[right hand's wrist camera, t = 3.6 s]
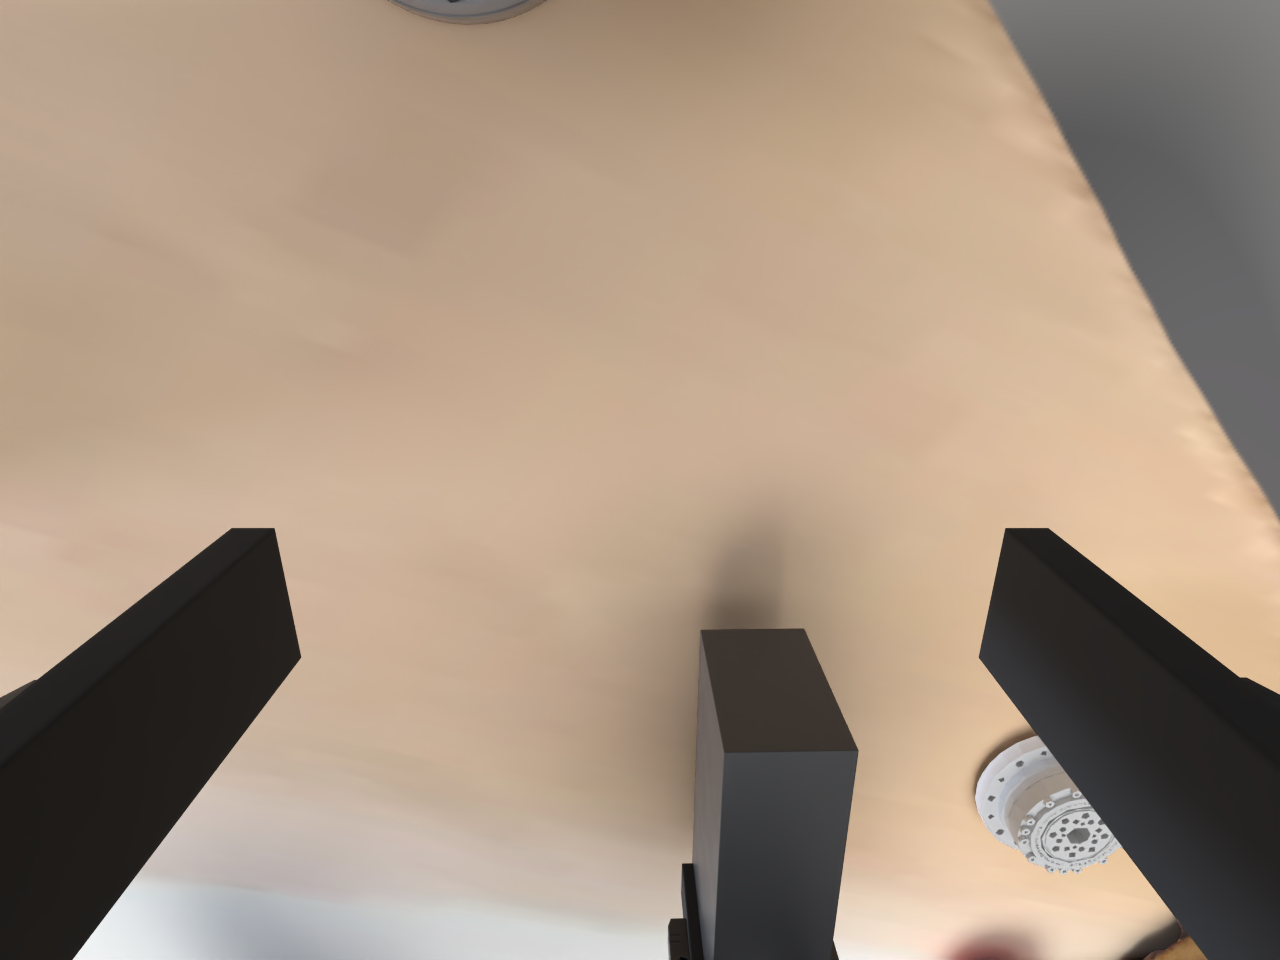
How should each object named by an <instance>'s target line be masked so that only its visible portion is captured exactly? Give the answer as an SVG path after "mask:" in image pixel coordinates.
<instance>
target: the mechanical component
mask: <svg viewBox="0 0 1280 960" xmlns="http://www.w3.org/2000/svg"><path fill="white" fill-rule="evenodd" d="M975 800H976V805H977V809H978V812H979V814H980V816H981V818H982V820H983V822H984V824H985V826H986V827H987V829H988V830H989V831H990V832H991V833H992V834H993V835H994V836H995V837H996V838H997V840H998V841H999V842H1001V843H1003V844H1005V845H1008V846H1010V847H1012V848H1014V849H1017V850H1020V851H1021V852H1022V853H1023V855H1024V856H1025V857H1026V858H1027V860H1028V862H1030V863H1034V864H1036V865H1039V866H1042V867H1045V868H1046V870H1047V871H1048V872H1049V873H1053V872H1055V871H1056V870H1059V872H1060V873H1061V874H1067V873H1068V872H1069V871H1068V870H1072V871H1073V872H1075V873H1076V874H1077V873H1080V872H1081V871H1082V868H1084V867H1087V866H1090V865H1092V864H1094V863H1096V862H1099V863H1100V864H1106V863H1107V862H1108V859H1107V858H1106V857H1107V856H1109V855H1110V854H1112V853H1114V852H1115V851H1116V850H1117V849H1118V847H1120V848H1123V847H1122V846H1121V845H1120V843H1119V842H1118V841H1117V839H1116V838H1115V837H1114V835H1113V834H1112V833H1111V831H1110V830H1109V829H1108V827H1107V826H1106V825H1105V824H1104V822H1103V821H1102V820H1101V818H1100V817H1099V816H1098V814H1097V813H1096V812H1095V810H1094V809H1093V808H1092V806H1091V805H1090V804H1089V802H1088V801H1087V800H1086V798H1085V797H1084V796H1083V794H1082V793H1081V792H1080V791H1079V789H1078V788H1077V787H1076V785H1075V784H1074V783H1073V781H1072V780H1071V779H1070V777H1069V776H1068V775H1067V773H1066V772H1065V771H1064V769H1063V768H1062V767H1061V765H1060V764H1059V763H1058V761H1057V760H1056V759H1055V757H1054V756H1053V755H1052V754H1051V752H1050V751H1049V750H1048V748H1047V747H1046V746H1045V744H1044V743H1043V742H1042V740H1041V739H1040V738H1039V736H1034V737H1031V738H1028V739H1026V740H1023V741H1020V742H1017V743H1016V744H1014V745H1013V746H1011V747H1009V748H1008V749H1006V750H1005V751H1003V752H1001V753H1000V754H999V755H998V756H997V757H996V758H995V759H994V760H993V761H992V762H990V764H989V765H988V766H987V768H986V769H985V771H984V772H983V773H982V775H981V777H980V779H979V781H978V784H977V790H976V796H975Z"/></svg>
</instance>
